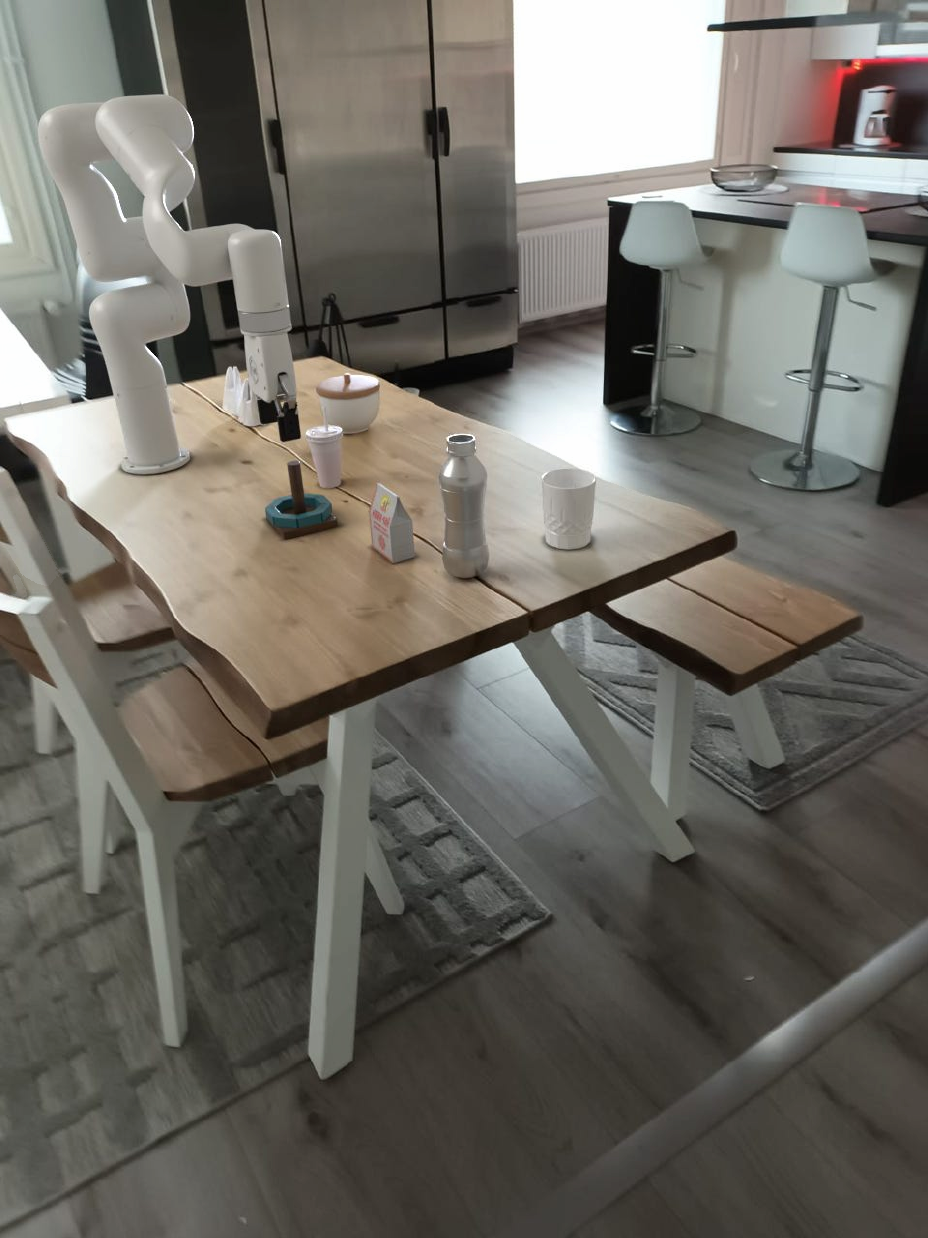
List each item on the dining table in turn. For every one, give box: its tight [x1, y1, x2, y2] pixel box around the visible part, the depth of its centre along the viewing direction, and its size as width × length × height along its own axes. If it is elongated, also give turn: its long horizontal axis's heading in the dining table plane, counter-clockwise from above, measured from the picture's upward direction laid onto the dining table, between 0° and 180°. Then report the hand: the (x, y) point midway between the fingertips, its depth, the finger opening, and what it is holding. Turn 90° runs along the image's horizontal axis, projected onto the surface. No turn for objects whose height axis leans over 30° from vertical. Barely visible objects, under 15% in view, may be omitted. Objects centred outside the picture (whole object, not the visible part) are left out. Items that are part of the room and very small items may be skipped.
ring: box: [264, 492, 333, 528], centre depth 152 cm, size 10×10×2 cm
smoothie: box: [305, 406, 344, 489], centre depth 163 cm, size 6×6×14 cm
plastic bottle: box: [438, 433, 490, 579], centre depth 130 cm, size 6×7×20 cm
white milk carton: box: [368, 482, 416, 564], centre depth 140 cm, size 4×7×10 cm, turn 31°
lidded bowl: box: [315, 372, 381, 435], centre depth 190 cm, size 13×13×11 cm
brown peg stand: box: [265, 460, 339, 540], centre depth 150 cm, size 9×9×10 cm
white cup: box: [541, 468, 597, 550], centre depth 141 cm, size 8×8×10 cm
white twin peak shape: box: [221, 365, 267, 427], centre depth 197 cm, size 12×4×11 cm, turn 40°
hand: (280, 431), depth 149 cm, fingers open, 9 cm apart
